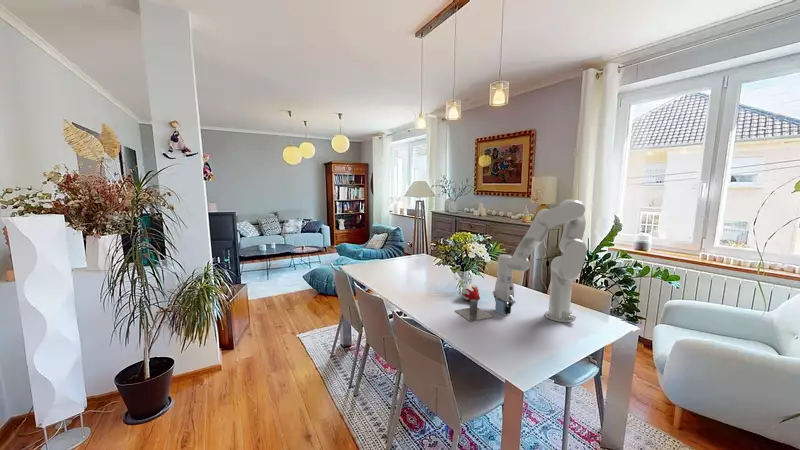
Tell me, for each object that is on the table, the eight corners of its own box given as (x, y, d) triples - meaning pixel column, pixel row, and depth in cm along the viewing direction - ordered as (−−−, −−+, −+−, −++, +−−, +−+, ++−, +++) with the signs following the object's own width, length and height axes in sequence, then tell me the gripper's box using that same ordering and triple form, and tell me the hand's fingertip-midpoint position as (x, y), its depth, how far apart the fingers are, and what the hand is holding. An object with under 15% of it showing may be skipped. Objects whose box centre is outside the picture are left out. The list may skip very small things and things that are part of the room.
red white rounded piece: (471, 293, 188) (486, 305, 174) (455, 295, 184) (469, 307, 170) (472, 280, 186) (488, 290, 172) (456, 281, 182) (471, 293, 168)
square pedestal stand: (493, 317, 155) (493, 303, 154) (470, 321, 150) (471, 307, 149) (475, 307, 168) (476, 294, 167) (454, 311, 162) (454, 297, 162)
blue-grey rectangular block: (510, 313, 160) (510, 301, 160) (502, 314, 158) (503, 302, 157) (503, 309, 165) (503, 298, 164) (495, 311, 163) (496, 299, 162)
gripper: (522, 282, 153) (520, 316, 155) (498, 273, 169) (497, 304, 171) (511, 283, 150) (509, 318, 152) (487, 274, 166) (486, 306, 168)
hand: (502, 310), depth 162 cm, fingers open, 6 cm apart
